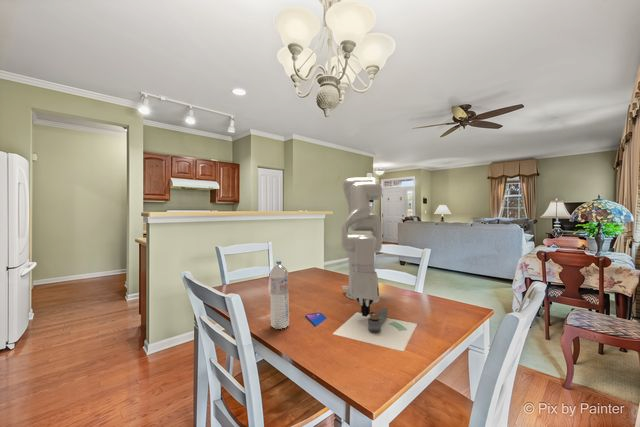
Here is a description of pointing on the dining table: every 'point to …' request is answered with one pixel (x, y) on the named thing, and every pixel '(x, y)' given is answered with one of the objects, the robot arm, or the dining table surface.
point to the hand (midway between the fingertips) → (365, 315)
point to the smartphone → (316, 318)
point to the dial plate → (390, 335)
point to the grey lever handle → (377, 320)
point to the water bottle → (279, 296)
